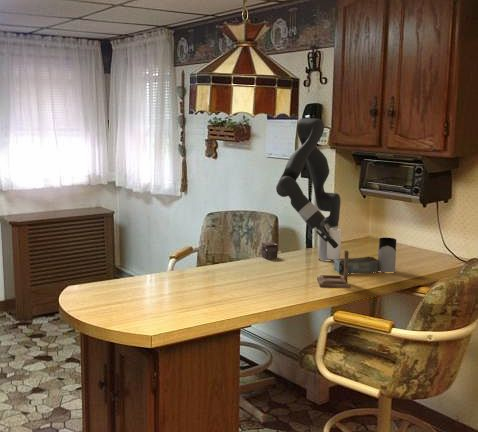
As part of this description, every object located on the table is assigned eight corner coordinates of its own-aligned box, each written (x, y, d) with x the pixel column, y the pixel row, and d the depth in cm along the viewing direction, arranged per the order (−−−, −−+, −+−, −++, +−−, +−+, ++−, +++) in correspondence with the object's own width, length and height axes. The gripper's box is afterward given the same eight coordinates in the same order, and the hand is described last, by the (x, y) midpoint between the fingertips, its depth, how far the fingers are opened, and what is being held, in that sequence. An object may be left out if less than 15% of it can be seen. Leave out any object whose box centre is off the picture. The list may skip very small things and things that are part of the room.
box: (261, 257, 293) (261, 242, 292) (271, 256, 296) (272, 241, 295) (266, 259, 288) (267, 245, 287) (277, 258, 290) (278, 244, 289)
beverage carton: (333, 270, 269) (333, 256, 268) (372, 269, 272) (373, 255, 271) (338, 275, 261) (339, 260, 260) (379, 273, 264) (380, 259, 263)
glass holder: (376, 272, 265) (377, 240, 263) (376, 265, 279) (378, 234, 276) (396, 274, 263) (398, 241, 261) (395, 266, 277) (397, 235, 274)
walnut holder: (316, 279, 253) (318, 247, 251) (344, 279, 253) (346, 248, 251) (319, 287, 241) (321, 253, 239) (349, 287, 241) (350, 254, 239)
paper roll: (326, 256, 248) (327, 227, 246) (339, 256, 248) (340, 228, 246) (327, 259, 243) (328, 230, 241) (341, 259, 242) (342, 230, 240)
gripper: (313, 212, 238) (341, 243, 236) (321, 207, 251) (348, 236, 249) (300, 223, 241) (327, 254, 239) (309, 218, 254) (335, 247, 252)
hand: (338, 245), depth 244 cm, fingers closed on paper roll, 5 cm apart
